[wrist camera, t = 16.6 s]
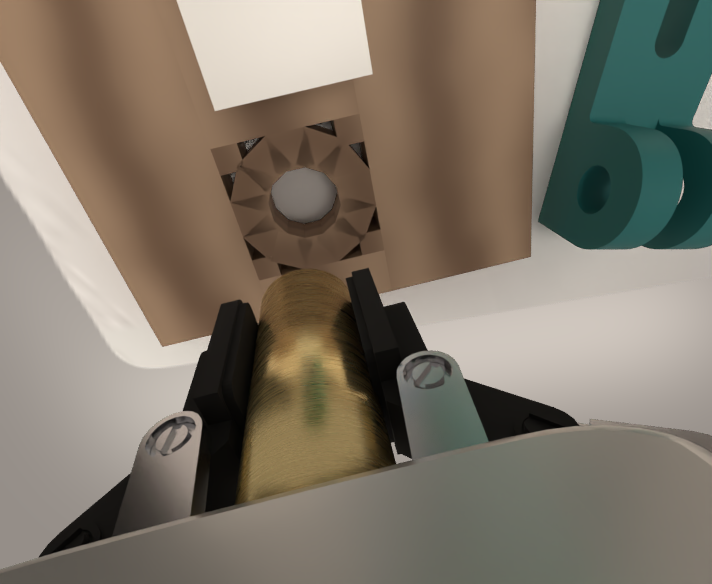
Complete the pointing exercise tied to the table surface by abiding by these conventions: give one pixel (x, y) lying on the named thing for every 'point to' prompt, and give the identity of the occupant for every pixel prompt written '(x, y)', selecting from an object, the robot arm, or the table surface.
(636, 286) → the table surface
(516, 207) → the walnut board
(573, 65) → the table surface
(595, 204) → the bracket
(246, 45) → the cream cube
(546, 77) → the table surface
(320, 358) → the brass pin
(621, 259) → the table surface
